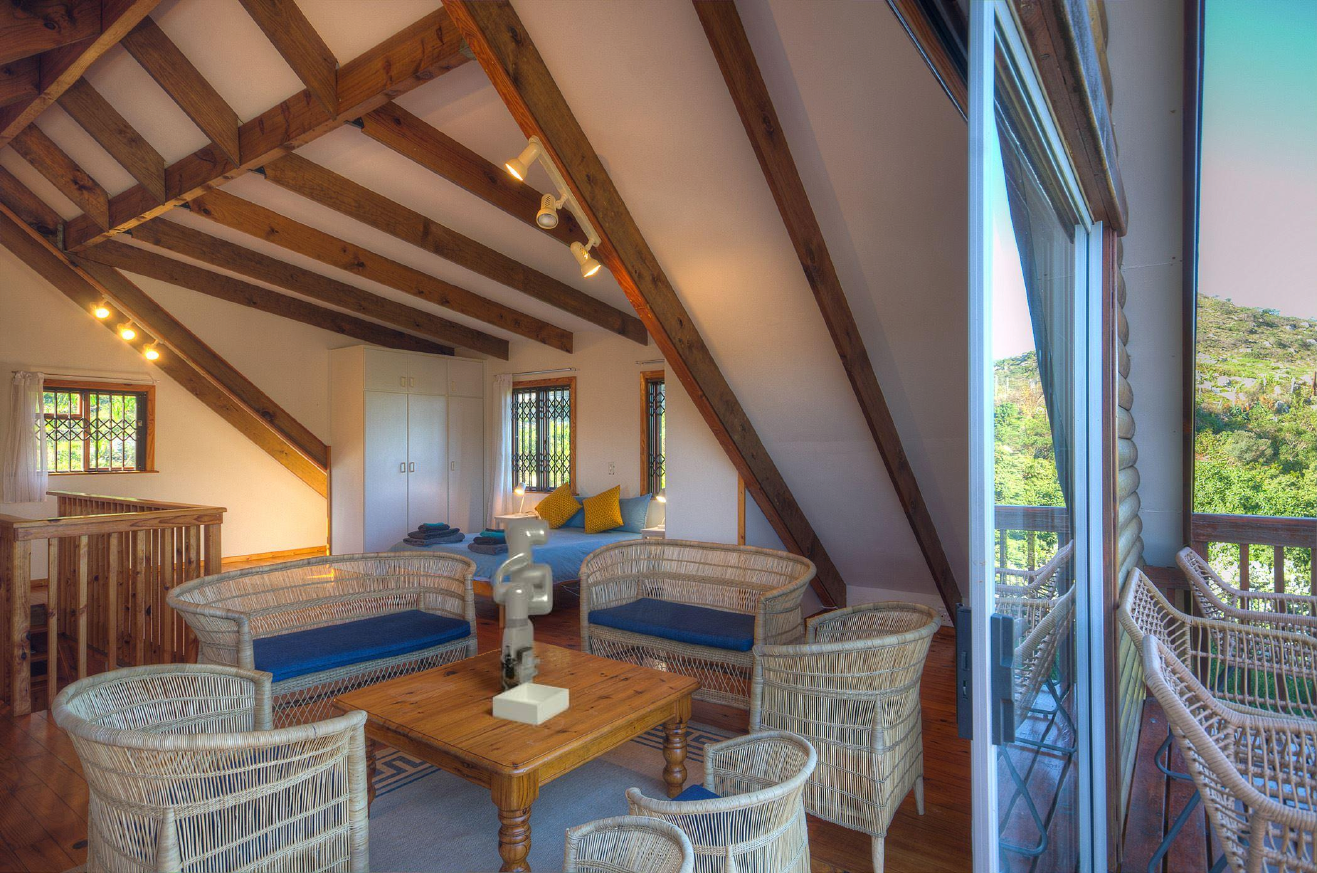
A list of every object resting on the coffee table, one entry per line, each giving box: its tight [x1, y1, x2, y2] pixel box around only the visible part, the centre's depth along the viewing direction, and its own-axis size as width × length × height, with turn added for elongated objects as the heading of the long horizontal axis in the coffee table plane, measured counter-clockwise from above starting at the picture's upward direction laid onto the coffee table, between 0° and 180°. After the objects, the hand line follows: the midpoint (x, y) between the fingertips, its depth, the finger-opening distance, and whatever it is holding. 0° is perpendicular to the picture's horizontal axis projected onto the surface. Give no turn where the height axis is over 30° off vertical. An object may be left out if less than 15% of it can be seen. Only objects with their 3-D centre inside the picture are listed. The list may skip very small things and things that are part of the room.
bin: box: [492, 682, 570, 726], centre depth 234 cm, size 17×17×6 cm
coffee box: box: [500, 646, 534, 694], centre depth 252 cm, size 9×6×16 cm
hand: (516, 674), depth 252 cm, fingers open, 7 cm apart
